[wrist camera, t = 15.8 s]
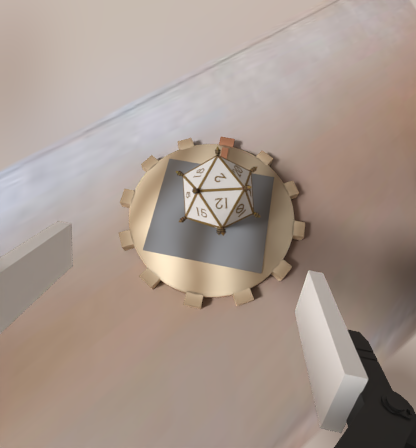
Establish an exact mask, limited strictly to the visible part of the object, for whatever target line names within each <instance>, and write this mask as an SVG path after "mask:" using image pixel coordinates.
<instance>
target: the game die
mask: <svg viewBox="0 0 416 448" xmlns="http://www.w3.org/2000/svg"><path fill="white" fill-rule="evenodd" d="M220 151H221V150H220V149H219V147H218V146H217V148H216V149H215V153H216V156H214V157H213V158H211V159H209V160H207V161H206V162H204V163H202V164H200V165H199V166H197V167H195V168H193V169H192V170H190V171H188V172H187V173H185V174H183V173H182V172H181V171H175V172H176V173H177V175H179V176H182V177H183V192H184V208H185V216H184V217H182V218H180V220H179V222H184V221H185V220H186V219H189V220H192V221H195V222H198V223H201V224H204V225H207V226H210V227H213V228H217V230H216V231H217V232H216V233H217V234H218V235H220V234H222V235H223V236H224V234H225V233H226V231H225V230H226V229H225V228H226V227H228V226H230V225H232V224H234V223H236V222H238V221H240V220H242V219H244V218H246V217H249V216H251V215H254V217H256V218H259V217H261V216H260V215H259V213H257V212H254V204H253V189H252V172H255V171H256V169H257V167H252V168H251V169H250V170H248V169H246V168H244V167H242V166H240V165H238V164H236V163H234V162H232V161H230V160H228V159H226V158H224V157H222V156H220V153H221V152H220Z"/></svg>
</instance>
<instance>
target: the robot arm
mask: <svg viewBox="0 0 416 448" xmlns="http://www.w3.org/2000/svg"><path fill="white" fill-rule="evenodd" d="M72 266H73V264H72V224H71V223H67V222H62V221H57V222H56V223H54V224H52V225H51V226H49V227H48V228H46V229H45V230H43V231H41V232H40V233H38V234H37V235H35V236H33V237H32V238H30V239H29V240H27V241H26V242H24V243H22V244H21V245H19V246H18V247H16V248H14V249H13V250H11V251H10V252H8V253H7V254H5V255H3V256H2V257H0V334H1V333H2V332H3V331H4V330H5V329H6V328H7V327H8V326H9V325H10V324H11V323H12V322H13V321H15V320H16V319H17V318H18V317H19V316H20V315H21V314H22V313H23V312H24V311H25V310H26V309H27V308H28V307H29V306H30V305H32V304H33V303H34V302H35V301H36V300H37V299H38V298H39V297H40V296H41V295H42V294H43V293H44V292H45V291H46V290H48V289H49V288H50V287H51V286H52V285H53V284H54V283H55V282H56V281H57V280H58V279H59V278H60V277H61V276H62V275H63V274H65V273H66V272H67V271H68V270H69V269H70V268H71V267H72ZM295 315H296V320H297V324H298V329H299V333H300V338H301V343H302V347H303V352H304V356H305V361H306V366H307V370H308V375H309V379H310V384H311V389H312V393H313V398H314V403H315V407H316V412H317V416H318V421H319V426H320V428H321V429H325V430H330V431H335V432H339V433H342V430H343V429H344V427H345V425H346V423H347V424H348V428H347V430H346V431H345V433H344V434H343V436H342V437H341V438H340V440H339V441H338V443H337V444H336V446H335V447H334V448H416V414H415V412H414V409H413V408H412V406H411V405H410V404H409V403H408V401H407V400H405V399H404V398H403V397H402V396H401V395H399V394H398V393H396V392H394V391H392V389H391V386H390V385H389V382H388V380H387V379H386V376H385V374H384V372H383V370H382V368H381V366H380V364H379V362H377V358H376V356H375V354H373V350H372V348H371V346H370V344H369V342H368V341H367V340H366V339H365V338H364V337H363V335H362V334H361V333H360V332H357V331H352V330H347V328H346V325H345V323H344V321H343V318H342V316H341V314H340V311H339V309H338V307H337V304H336V302H335V300H334V297H333V295H332V293H331V290H330V288H329V286H328V283H327V281H326V279H325V276H324V274H323V273H320V272H315V271H310V270H308V273H307V276H306V279H305V282H304V285H303V288H302V291H301V294H300V297H299V300H298V303H297V307H296V310H295Z"/></svg>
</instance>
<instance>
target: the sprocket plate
mask: <svg viewBox="0 0 416 448" xmlns="http://www.w3.org/2000/svg"><path fill="white" fill-rule="evenodd" d="M234 140H235V139H231V138H225V137H221V138H220V142H219V145H218V144H203V145H195V146H194V144H193V141H192V139H191V138H189V139H185V140H182V141H178V148H179V150H177V151H175V152H173V153H171V154H169V155H167V156H166V157H164V158H162V159H161V160H159V161H158V160H157V159H156V158H155V157H153V156H152V155H151V156H150V157H149V158H148V159H147V160H146V161H144V162H143V163H142V164H141V165H142V168H143V170H144V171H145V172H146V174H145V175H144V176H143V177H142V179H141V180H140V182H139V184H138V185H137V187H136V189H135V191H134V190H129V189H124V192H123V195H122V198H121V201H120V203H121V205H122V207H127V208H130V210H129V230H126V231H123V232H119V237H120V241H121V245H122V248H123V249H124V250H129V249H132V248H135V249H136V251H137V253H138V255H139V257H140V258H141V260H142V261H143V262H144V264H145V265H146V267H147V269H146V270H145V271H144V272H143V273H142V274H141V275H140V276H139V277H140V278H141V279H142V280H143V281H144V282H145V283H147V284H148V285H149V286H150V287H151V288H152V289H154V288H155V287H156V286H157V285H158V284H159V283H160V281H162V282H163V283H165V284H167V285H168V286H170V287H172V288H173V289H176V290H178V291H180V292H183V293H186V295H185V300H184V306H189V307H193V308H198V309H201V306H202V301H203V297H206V298H218V297H226V296H231V295H233V298H234V301H235V304H236V306H240V305H243V304H245V303H248V302H251V301H253V300H254V298H253V295H252V293H251V290H250V289H251V288H253V287H254V286H256V285H258V284H259V283H261V282H262V281H263V280H265V279H266V278H267V277H268V276H269V275H270V274H271V275H273V276H274V277H275V278H276V279H277V280H279V281H281V280H282V279H283V278H284V277H285V275H286V274H287V273H288V272H289V270H290V269H291V268H292V266H291V265H290V264H288V263H287V262H286V261H285V260H283V258H284V257H285V255H286V253H287V251H288V249H289V247H290V244H291V240H292V239H295V240H302V239H303V238H304V231H305V222H300V221H294V211H293V205H292V202H291V199H294V198H296V197H297V196H298V194H299V192H298V190H297V188H296V186H295V184H294V182H293V181H290V182H286V183H283V182H282V180H281V179H280V178H279V176H278V175H277V174H276V173H275V172H274V171H273V170H272V169H271V168H270V167H269V166H270V165H271V163H272V161H273V158H272V157H271V156H269V155H268V154H266V153H265V152H264V151H261V152H260V153H259V154H258V155H257V156H254V155H252V154H250V153H248V152H246V151H244V150H241V149H238V148H235V147H233V146H234ZM217 146H218V147H219V149H220V150H221V151H220V152H221V153H220V156H222V157H224V158H226V159H228V160H230V161H232V162H234V163H236V164H238V165H240V166H242V167H244V168H246V169H248V170H250V169H251V168H252V167H257V169H256V171H255V172H252V189H253V204H254V212H257V213H259V215H260V216H261V217H259V218H256V217H254V215H251V216H249V217H246V218H244V219H242V220H240V221H238V222H236V223H234V224H232V225H230V226H228V227H226V228H225V229H226V230H225V231H226V233H225V234H224V236H223V235H222V234H220V235H218V234H217V233H216V232H217V231H216V230H217V228H213V227H210V226H207V225H204V224H201V223H198V222H195V221H192V220H189V219H186V220H185V221H184V222H179V220H180V218H182V217H184V216H185V208H184V192H183V177H182V176H179V175H177V173H176V172H175V171H181V172H182V173H183V174H185V173H187V172H188V171H190V170H192V169H193V168H195V167H197V166H199V165H200V164H202V163H204V162H206V161H207V160H209V159H211V158H213V157H214V156H216V153H215V149H216V148H217Z"/></svg>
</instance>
